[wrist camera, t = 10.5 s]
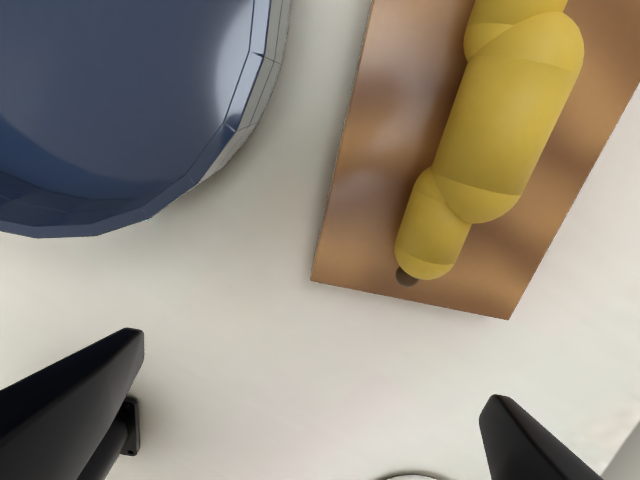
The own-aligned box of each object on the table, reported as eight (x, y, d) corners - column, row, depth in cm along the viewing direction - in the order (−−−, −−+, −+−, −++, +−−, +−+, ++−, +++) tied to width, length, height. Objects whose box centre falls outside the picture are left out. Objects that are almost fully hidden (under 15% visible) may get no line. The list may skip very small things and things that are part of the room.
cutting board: (499, 308, 21) (508, 321, 20) (311, 270, 20) (309, 281, 19) (725, -119, 12) (762, -139, 11) (417, -203, 12) (425, -232, 11)
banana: (452, 281, 19) (478, 324, 15) (379, 266, 18) (390, 307, 15) (618, -102, 12) (734, -179, 8) (507, -131, 12) (579, -223, 8)
